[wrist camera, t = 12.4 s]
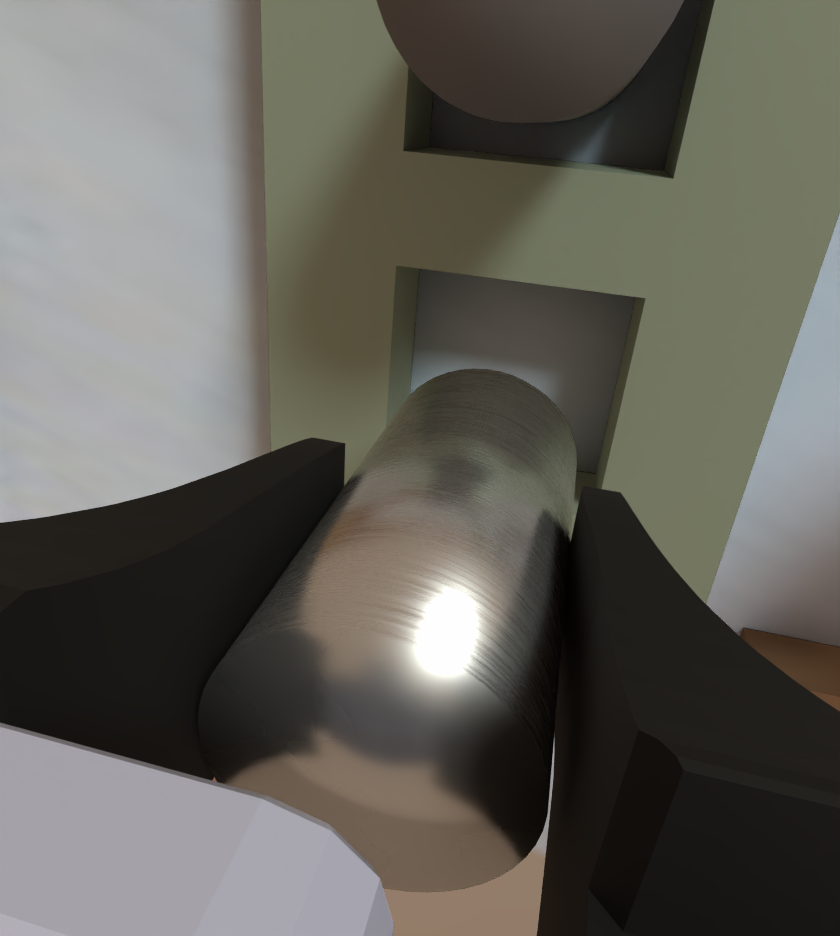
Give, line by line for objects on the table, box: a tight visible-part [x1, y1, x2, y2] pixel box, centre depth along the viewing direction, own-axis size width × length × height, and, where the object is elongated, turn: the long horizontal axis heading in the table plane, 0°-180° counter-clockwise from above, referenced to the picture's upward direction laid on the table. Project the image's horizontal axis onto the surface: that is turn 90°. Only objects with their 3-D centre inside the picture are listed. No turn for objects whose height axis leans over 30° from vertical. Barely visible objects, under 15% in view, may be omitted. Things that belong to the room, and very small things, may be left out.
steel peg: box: [198, 369, 577, 892], centre depth 11 cm, size 4×4×8 cm
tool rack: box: [260, 0, 840, 604], centre depth 14 cm, size 12×18×8 cm, turn 174°
